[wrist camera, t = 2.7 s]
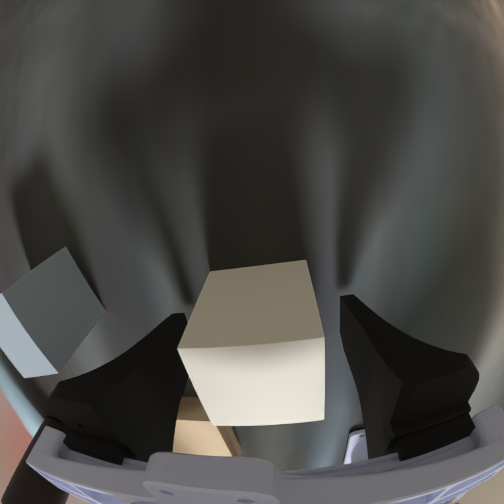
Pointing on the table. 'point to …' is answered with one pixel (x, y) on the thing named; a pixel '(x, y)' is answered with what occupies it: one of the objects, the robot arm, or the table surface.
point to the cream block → (257, 346)
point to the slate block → (47, 316)
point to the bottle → (34, 478)
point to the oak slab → (202, 432)
